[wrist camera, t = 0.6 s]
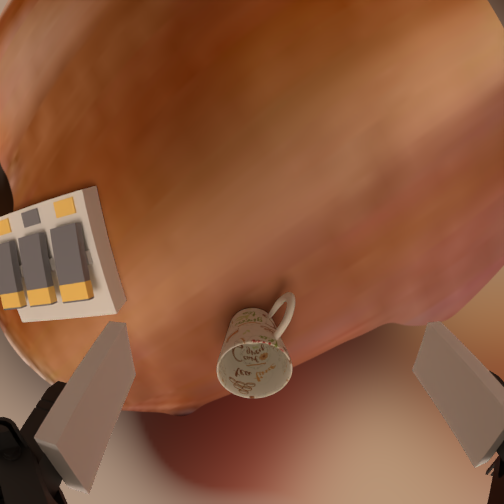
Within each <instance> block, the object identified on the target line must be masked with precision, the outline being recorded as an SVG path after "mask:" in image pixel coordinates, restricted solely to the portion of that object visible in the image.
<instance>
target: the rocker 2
mask: <svg viewBox="0 0 504 504" xmlns="http://www.w3.org/2000/svg"><path fill="white" fill-rule="evenodd" d="M18 242H19V250H20V256H21V263H22V268H23V274H24V279H25V284H26V289H27V295H28V299H29V304H30V307H38V306H47V305H53V304H55V303H57V297H56V293H55V288H54V284H53V279H52V274H51V269H50V263H49V257H48V251H47V244H46V237H45V232H38V233H35V234H31V235H28V236H24V237H21V238H18Z"/></svg>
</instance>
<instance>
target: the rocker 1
mask: <svg viewBox="0 0 504 504" xmlns="http://www.w3.org/2000/svg"><path fill="white" fill-rule="evenodd" d="M0 296H1V300H2V305H3V309H4V310H11V309H20V308H23V307H26V306H27V303H26V298H25V294H24V290H23V285H22V280H21V275H20V269H19V263H18V257H17V250H16V243H15V241H8V242H4V243H1V244H0Z"/></svg>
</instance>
